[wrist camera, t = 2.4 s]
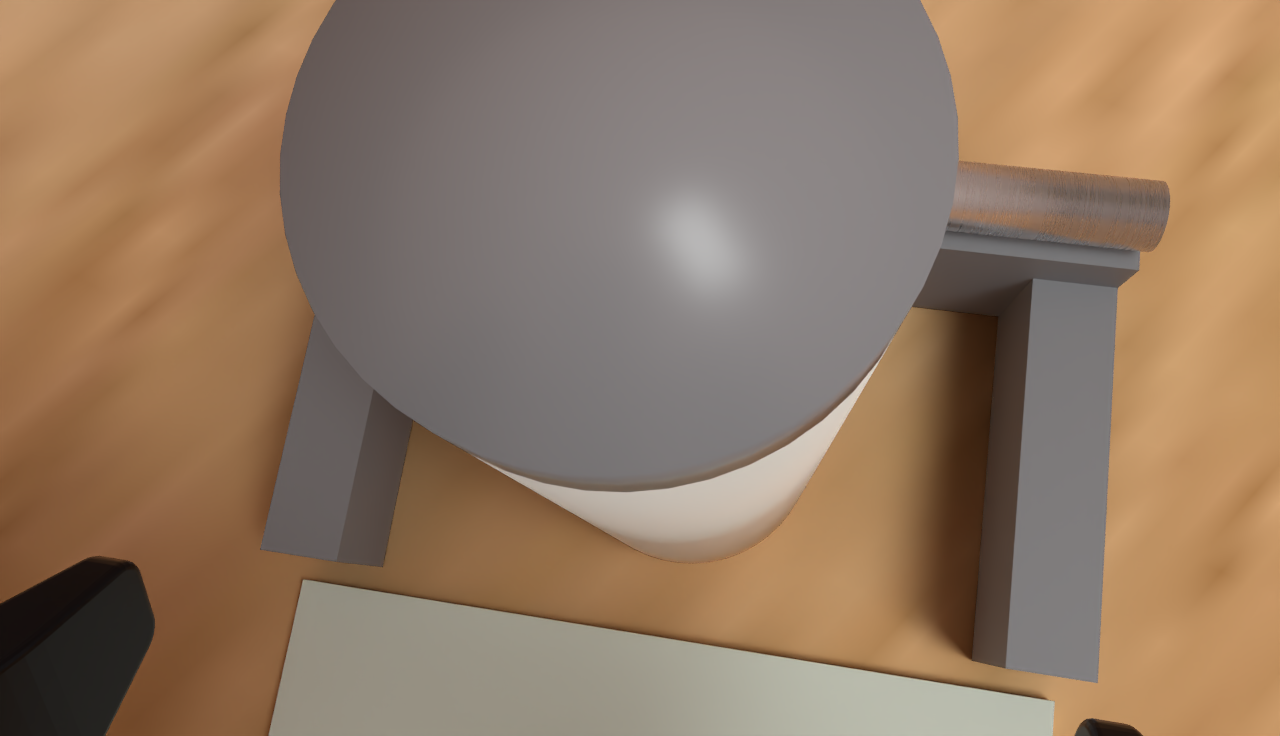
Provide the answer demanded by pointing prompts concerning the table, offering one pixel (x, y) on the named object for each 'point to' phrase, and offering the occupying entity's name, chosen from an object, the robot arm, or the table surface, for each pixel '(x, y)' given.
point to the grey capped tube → (623, 236)
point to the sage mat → (587, 681)
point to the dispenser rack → (958, 281)
